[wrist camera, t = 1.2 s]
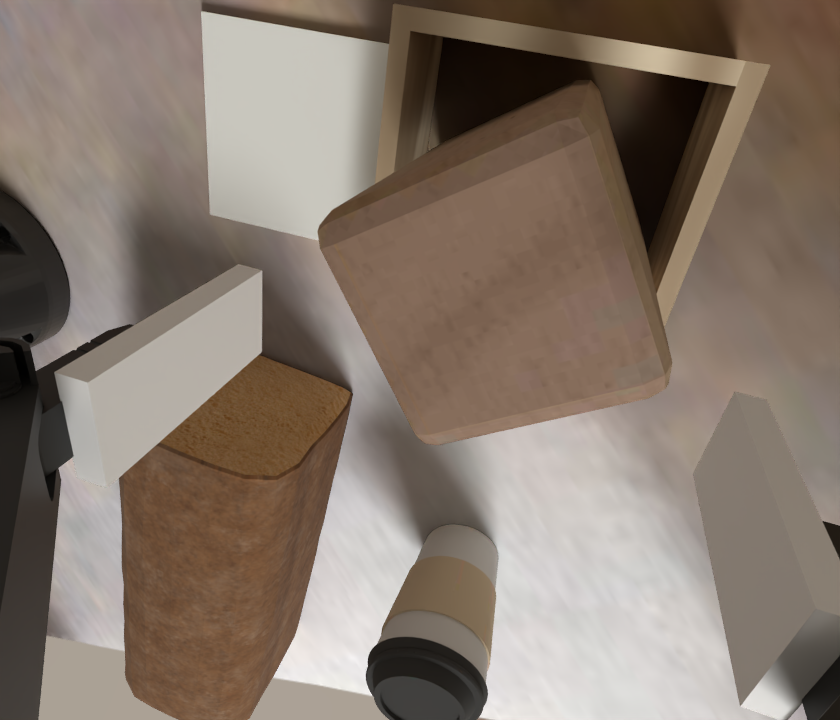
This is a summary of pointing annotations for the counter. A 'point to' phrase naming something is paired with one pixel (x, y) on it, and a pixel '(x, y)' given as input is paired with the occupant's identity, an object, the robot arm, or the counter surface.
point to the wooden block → (505, 274)
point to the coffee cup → (439, 631)
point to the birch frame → (720, 109)
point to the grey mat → (288, 121)
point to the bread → (227, 540)
